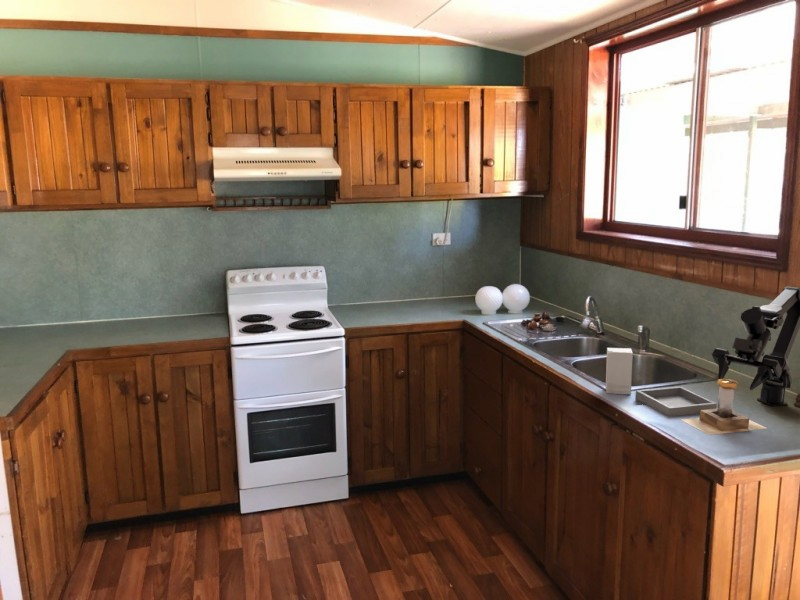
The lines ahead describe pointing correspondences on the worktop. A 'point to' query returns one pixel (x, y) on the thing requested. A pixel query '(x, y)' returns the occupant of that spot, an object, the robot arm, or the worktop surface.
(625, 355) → the skincare box
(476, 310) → the worktop surface
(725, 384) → the pin
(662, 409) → the tray
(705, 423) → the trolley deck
